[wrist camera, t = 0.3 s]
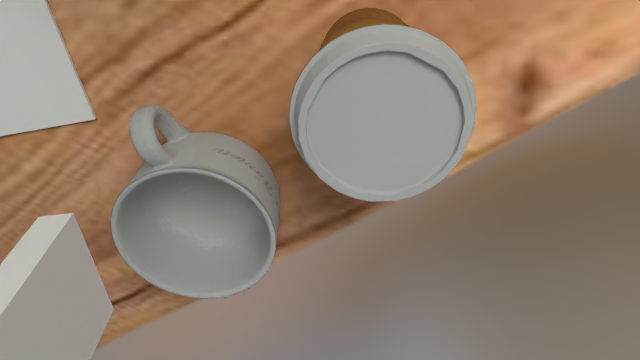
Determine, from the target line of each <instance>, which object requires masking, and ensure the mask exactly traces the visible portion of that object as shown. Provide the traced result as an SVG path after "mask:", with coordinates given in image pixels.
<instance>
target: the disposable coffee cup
mask: <svg viewBox="0 0 640 360" xmlns="http://www.w3.org/2000/svg"><path fill="white" fill-rule="evenodd" d="M476 109H477V108H476V95H475V90H474V86H473V83H472V80H471V77H470V75H469V73H468V71H467V69H466V67H465V65H464V63H463V62H462V60H461V59H460V58H459V57H458V56H457V55H456V54H455V53H454V51H453V50H452V49H451V48H450V47H448V46H447V45H446V44H445V43H443V42H442V41H441V40H439V39H437V38H435V37H434V36H432V35H430V34H428V33H426V32H424V31H422V30H419V29H415V28H411V27H409V26H408V25H407V24H405V23H404V22H403V21H401V20H400V19H399V18H398V17H396V16H395V15H394V14H392V13H389V12H387V11H385V10H380V9H375V8H365V9H360V10H355V11H353V12H350V13H348V14H346V15H345V16H343V17H341V18H340V19H339V20H338V21H337V22H336V23H335V24H334V25H333V26H332V27H331V29H330V30H329V31H328V33H327V35H326V38H325V40H324V42H323V44H322V46H321V48H320V50H319V52H318V53H317V54H316V55H314V56H313V57H312V58H311V60H310V61H309V63H308V64H307V66H306V67H305V69H304V70H303V71H302V73H301V75H300V77H299V78H298V80H297V83H296V85H295V88H294V91H293V95H292V99H291V105H290V116H289V119H290V125H291V132H292V138H293V140H294V143H295V145H296V148H297V150H298V152H299V154H300V156H301V157H302V159H303V160H304V162H305V163H306V165H307V166H308V167H309V168H310V169H311V170H312V171H313V172H314V173H315V174H316V175H317V176H318V177H319V178H320V179H321V180H323V181H324V182H325V183H327V184H328V185H329V186H331V187H332V188H333V189H335V190H336V191H337V192H340V193H342V194H345V195H347V196H350V197H352V198H355V199H360V200H364V201H369V202H386V201H397V200H401V199H405V198H409V197H413V196H415V195H417V194H420V193H422V192H424V191H426V190H428V189H430V188H431V187H433V186H434V185H436V184H437V183H439V182H440V181H441V180H442V179H443V178H444V177H446V176H447V175H448V174H449V173H450V171H451V170H452V169H453V168H454V167H455V165H456V164H457V163H458V162H459V161H460V159H461V157H462V155H463V153H464V150H465V148H466V146H467V144H468V142H469V139H470V136H471V134H472V131H473V129H474V123H475V116H476Z"/></svg>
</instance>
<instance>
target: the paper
mask: <svg viewBox="0 0 640 360" xmlns="http://www.w3.org/2000/svg"><path fill="white" fill-rule="evenodd" d="M96 118H97V117H96V115H95V113H94V110H93V108H92V106H91V103H90V101H89V98H88V96H87V94H86V91H85V89H84V87H83V84H82V82H81V80H80V77H79V75H78V72H77V70H76V68H75V65H74V63H73V61H72V58H71V56H70V53H69V51H68V49H67V46H66V44H65V42H64V39H63V37H62V35H61V32H60V30H59V27H58V25H57V23H56V20H55V18H54V16H53V13H52V11H51V9H50V6H49V4H48V1H47V0H0V136H5V135H10V134H16V133H21V132H27V131H33V130H38V129H44V128H50V127H55V126H61V125H66V124H72V123H78V122H83V121H89V120H95V119H96Z"/></svg>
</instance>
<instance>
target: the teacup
mask: <svg viewBox="0 0 640 360" xmlns="http://www.w3.org/2000/svg"><path fill="white" fill-rule="evenodd" d="M154 126H155V127H156V128H157V129H158V130H159V131H160V132H161V134H162V135H163V136H164V137H165V138H166V140H167V142H166V143H164V144H163V145H162V146H161V144H160V143H159V140H158V138H157V136H156V132H155V128H154ZM130 135H131V139H132V143H133V145H134V147H135V149H136V151H137V153H138V154H139V156H140V157H141V158H142V159H143V160H144V161H145V162H144V164H143V165H142V166H141V167H140V169H139V170H138V172H137V173H136V175H135V176H134V178H133V179H132V180H131V182H130V184H129V185H128V186H127V187H126V188H125V189H123V191H122V192H121V193H120V195H119V196H118V198H117V200H116V202H115V204H114V206H113V210H112V215H111V230H112V235H113V239H114V243H115V245H116V247H117V249H118V251H119V253H120V254H121V256H122V257H123V259H124V260H125V262H126V263H127V264H128V265H129V266H130V267H131V268H132V269H133V270H134V271H135V272H136V273H137V274H138V275H140V276H141V277H142V278H143V279H145V280H146V281H148V282H149V283H151V284H153V285H155V286H156V287H158V288H160V289H163V290H165V291H168V292H170V293H173V294H177V295H181V296H186V297H192V298H204V299H208V298H225V297H227V296H230V295H234V294H237V293H240V292H242V291H245V290H246V289H248V288H250V287H251V286H253V285H255V284H256V283H257V282H258V281H259V280H260V279H261V278H262V277H263V276H264V275H265V273H266V272H267V271H268V269H269V268H270V266H271V264H272V262H273V259H274V256H275V252H276V247H277V232H278V225H279V218H280V202H281V200H280V191H279V186H278V183H277V180H276V177H275V175H274V173H273V171H272V169H271V167H270V166H269V164H268V163H267V162H266V161H265V159H264V158H263V157H262V156H261V155H260V154H259V153H258V152H257V151H256V150H254V149H253V148H252V147H250V146H249V145H247V144H246V143H244V142H242V141H240V140H238V139H236V138H234V137H231V136H228V135H225V134H220V133H215V132H195V133H191V132H190V131H189V130H188V129H187V128H186V127H184V126H181V124H180V123H179V122H178V121H177V120H176V119H175V118H174V117H173V116H172V115H171V114H170V113H169V112H168V111H167V110H166V109H164V108H163V107H160V106H158V105H148V106H145V107H143V108H140V109H138V110H137V111H136V112H135V113H134V114H133V116H132V117H131V120H130Z"/></svg>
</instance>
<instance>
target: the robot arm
mask: <svg viewBox="0 0 640 360" xmlns="http://www.w3.org/2000/svg"><path fill="white" fill-rule="evenodd" d="M113 310H114V308H113V306H112V304H111V301H110V299H109V296H108V294H107V292H106V289H105V287H104V285H103V282H102V280H101V278H100V275H99V273H98V271H97V268H96V266H95V263H94V261H93V259H92V256H91V254H90V252H89V249H88V247H87V245H86V242H85V240H84V238H83V235H82V233H81V230H80V228H79V226H78V223H77V221H76V219H75V216H74V214H73V213H69V214H60V215H51V216H41V217H38V218H37V219H36V221H35V222H34V223H33V224H32V226H31V227H30V228H29V229H28V231H27V232H26V233H25V234H24V236H23V237H22V238H21V239H20V241H19V242H18V243H17V244H16V246H15V247H14V248H13V250H12V251H11V252H10V253H9V255H8V256H7V257H6V258H5V260H4V261H3V262H2V263H1V265H0V360H90V359H91V357H92V355H93V353H94V351H95V349H96V347H97V344H98V342H99V340H100V338H101V336H102V334H103V332H104V330H105V327H106V325H107V323H108V321H109V319H110V317H111V315H112V312H113Z"/></svg>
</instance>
